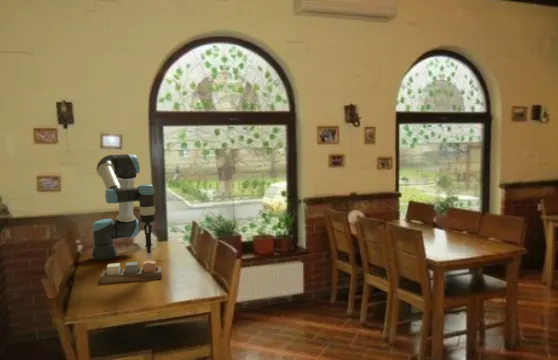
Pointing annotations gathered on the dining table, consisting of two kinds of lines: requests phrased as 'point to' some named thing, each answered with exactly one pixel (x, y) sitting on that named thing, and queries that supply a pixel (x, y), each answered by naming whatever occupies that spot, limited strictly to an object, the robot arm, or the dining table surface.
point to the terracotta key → (149, 266)
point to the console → (131, 276)
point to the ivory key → (113, 269)
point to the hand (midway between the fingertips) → (149, 258)
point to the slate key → (131, 267)
